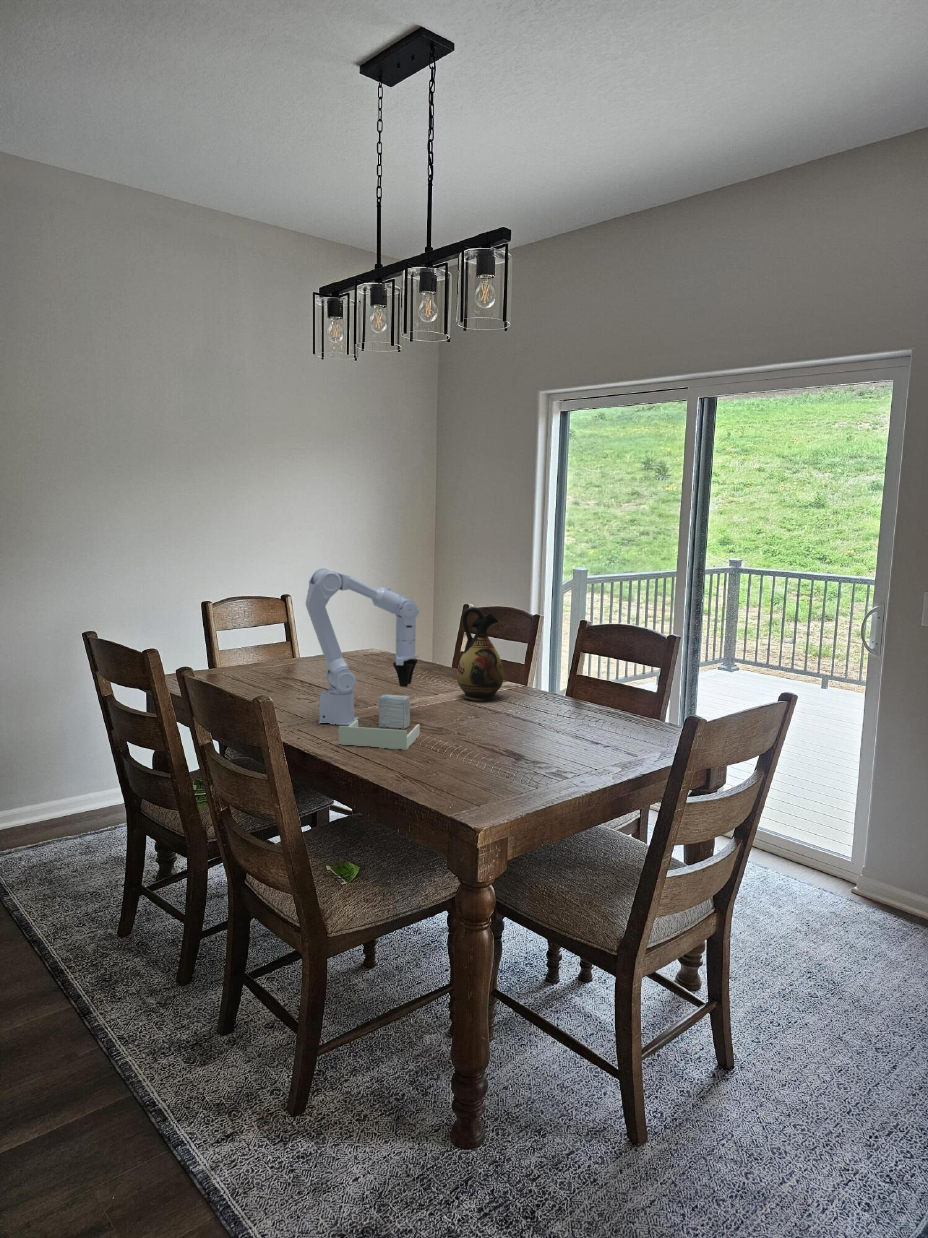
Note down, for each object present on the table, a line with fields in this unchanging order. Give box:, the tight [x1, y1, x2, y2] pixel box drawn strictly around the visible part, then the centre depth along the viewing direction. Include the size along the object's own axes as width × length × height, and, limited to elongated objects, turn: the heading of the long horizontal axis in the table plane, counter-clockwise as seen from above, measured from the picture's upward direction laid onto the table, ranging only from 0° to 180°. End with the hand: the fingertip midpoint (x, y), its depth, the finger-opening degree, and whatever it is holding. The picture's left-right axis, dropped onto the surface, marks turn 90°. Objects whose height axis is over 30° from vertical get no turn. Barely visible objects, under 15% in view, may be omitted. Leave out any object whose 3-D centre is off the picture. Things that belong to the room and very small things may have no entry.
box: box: [338, 719, 421, 751], centre depth 216 cm, size 18×15×5 cm
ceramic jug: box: [456, 606, 505, 703], centre depth 265 cm, size 17×15×30 cm
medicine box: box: [378, 694, 411, 730], centre depth 229 cm, size 8×4×9 cm, turn 74°
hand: (405, 685), depth 240 cm, fingers open, 3 cm apart
